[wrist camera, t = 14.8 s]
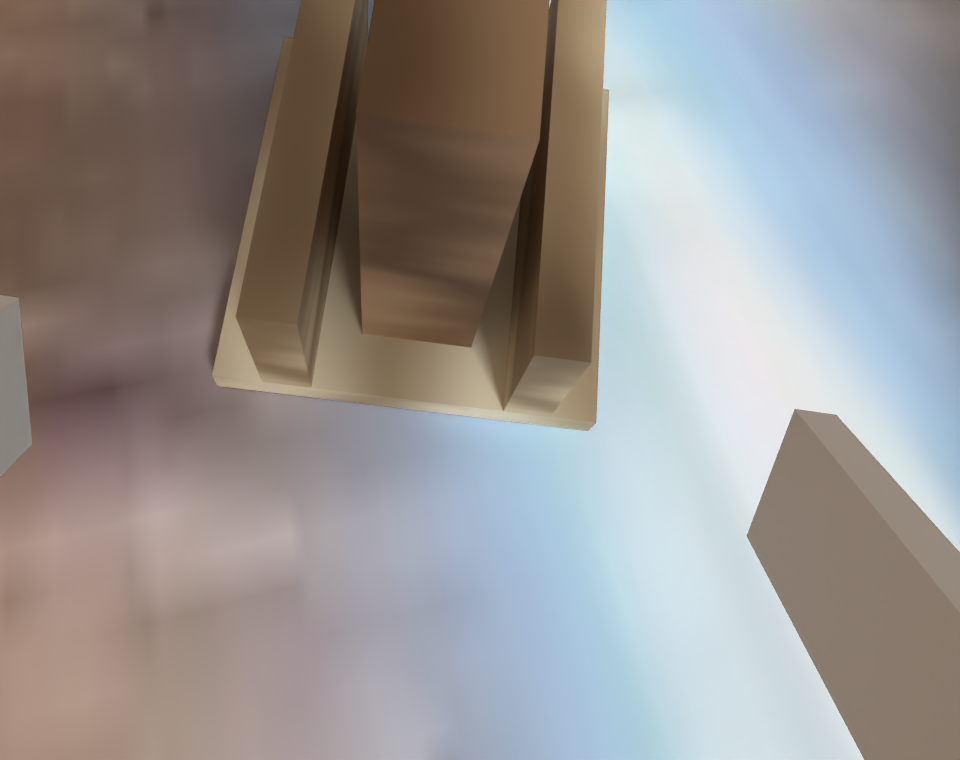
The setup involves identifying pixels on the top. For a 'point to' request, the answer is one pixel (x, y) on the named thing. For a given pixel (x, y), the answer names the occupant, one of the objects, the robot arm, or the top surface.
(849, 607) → the robot arm
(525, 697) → the top surface
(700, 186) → the top surface
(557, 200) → the rack
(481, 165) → the tile
